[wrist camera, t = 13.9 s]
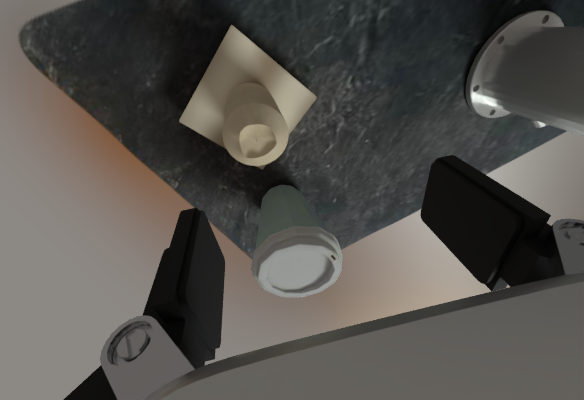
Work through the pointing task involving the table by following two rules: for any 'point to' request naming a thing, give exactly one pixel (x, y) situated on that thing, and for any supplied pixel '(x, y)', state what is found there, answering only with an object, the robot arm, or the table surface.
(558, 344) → the robot arm
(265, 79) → the plinth
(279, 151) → the candle
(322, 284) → the disposable coffee cup
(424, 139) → the table surface
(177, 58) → the table surface
